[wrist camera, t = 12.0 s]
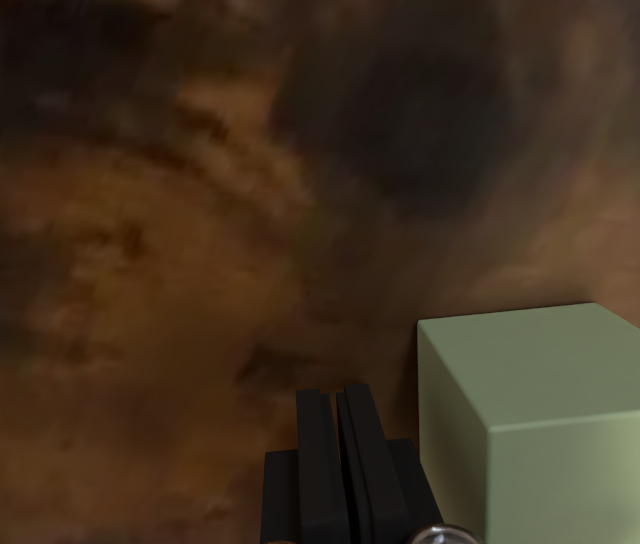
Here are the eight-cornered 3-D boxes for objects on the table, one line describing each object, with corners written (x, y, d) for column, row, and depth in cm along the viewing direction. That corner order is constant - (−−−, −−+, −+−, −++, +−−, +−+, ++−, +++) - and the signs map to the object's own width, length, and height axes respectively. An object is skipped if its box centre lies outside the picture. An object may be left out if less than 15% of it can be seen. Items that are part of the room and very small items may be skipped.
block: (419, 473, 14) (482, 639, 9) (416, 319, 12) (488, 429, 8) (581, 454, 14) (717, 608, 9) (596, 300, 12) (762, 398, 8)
